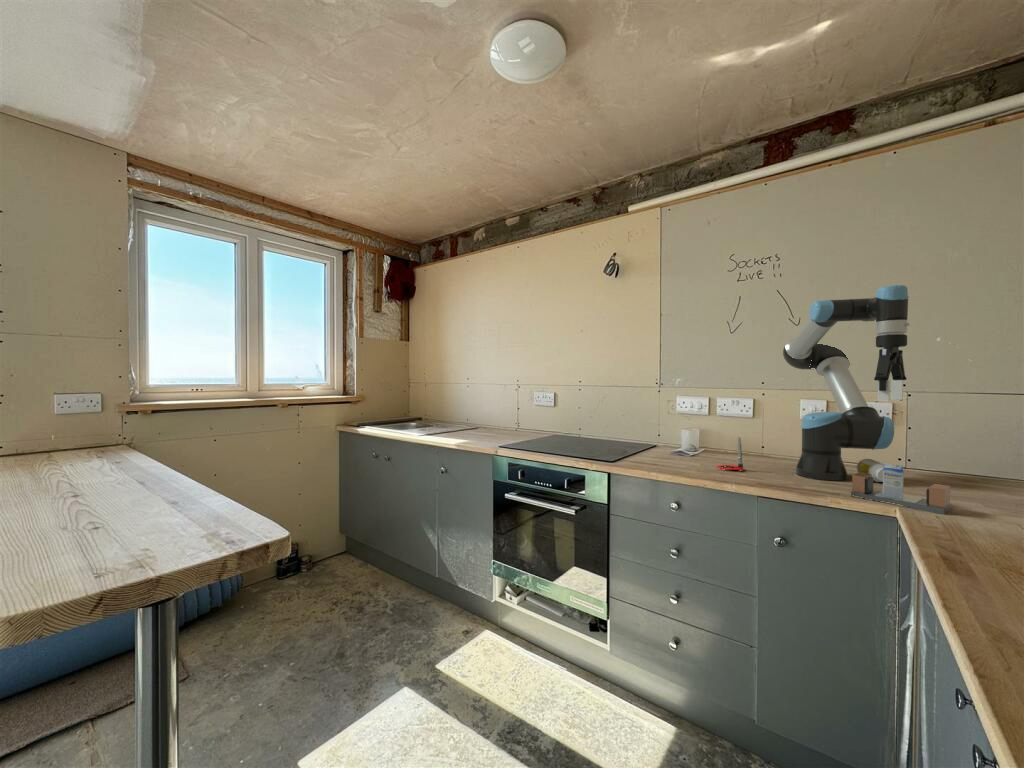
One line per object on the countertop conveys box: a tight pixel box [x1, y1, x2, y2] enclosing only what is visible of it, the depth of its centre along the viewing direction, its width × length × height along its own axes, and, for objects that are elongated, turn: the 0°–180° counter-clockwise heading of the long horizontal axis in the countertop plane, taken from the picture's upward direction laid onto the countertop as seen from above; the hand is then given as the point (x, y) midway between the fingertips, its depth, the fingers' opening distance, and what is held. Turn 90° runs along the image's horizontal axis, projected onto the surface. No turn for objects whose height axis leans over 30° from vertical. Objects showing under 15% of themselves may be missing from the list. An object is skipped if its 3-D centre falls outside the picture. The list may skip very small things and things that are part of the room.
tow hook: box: [716, 436, 744, 472], centre depth 166 cm, size 8×13×9 cm
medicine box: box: [882, 463, 905, 500], centre depth 123 cm, size 8×4×9 cm, turn 138°
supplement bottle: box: [856, 458, 885, 483], centre depth 147 cm, size 7×7×13 cm
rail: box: [850, 472, 952, 515], centre depth 122 cm, size 20×8×6 cm, turn 34°
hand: (890, 400), depth 136 cm, fingers open, 13 cm apart
